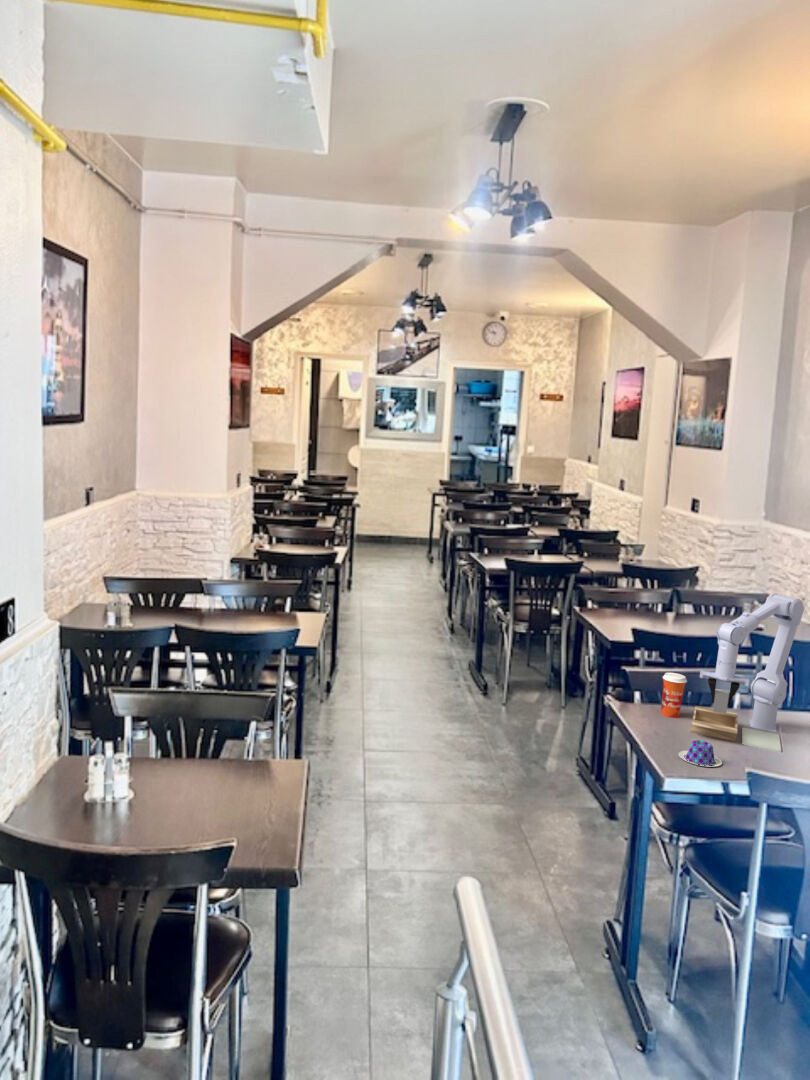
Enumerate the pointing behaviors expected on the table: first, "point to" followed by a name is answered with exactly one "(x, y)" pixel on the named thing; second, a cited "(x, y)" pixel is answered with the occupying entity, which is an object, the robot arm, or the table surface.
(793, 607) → the robot arm
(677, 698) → the paper cup
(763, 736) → the board
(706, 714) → the light wood shallow tray
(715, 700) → the block
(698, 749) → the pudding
